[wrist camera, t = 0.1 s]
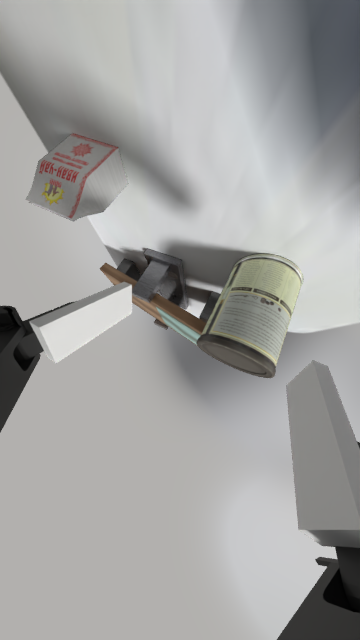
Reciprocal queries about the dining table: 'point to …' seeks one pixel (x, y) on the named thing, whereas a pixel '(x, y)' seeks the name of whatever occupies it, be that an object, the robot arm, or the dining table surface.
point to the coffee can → (253, 314)
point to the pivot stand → (163, 282)
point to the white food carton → (78, 178)
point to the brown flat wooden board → (161, 308)
